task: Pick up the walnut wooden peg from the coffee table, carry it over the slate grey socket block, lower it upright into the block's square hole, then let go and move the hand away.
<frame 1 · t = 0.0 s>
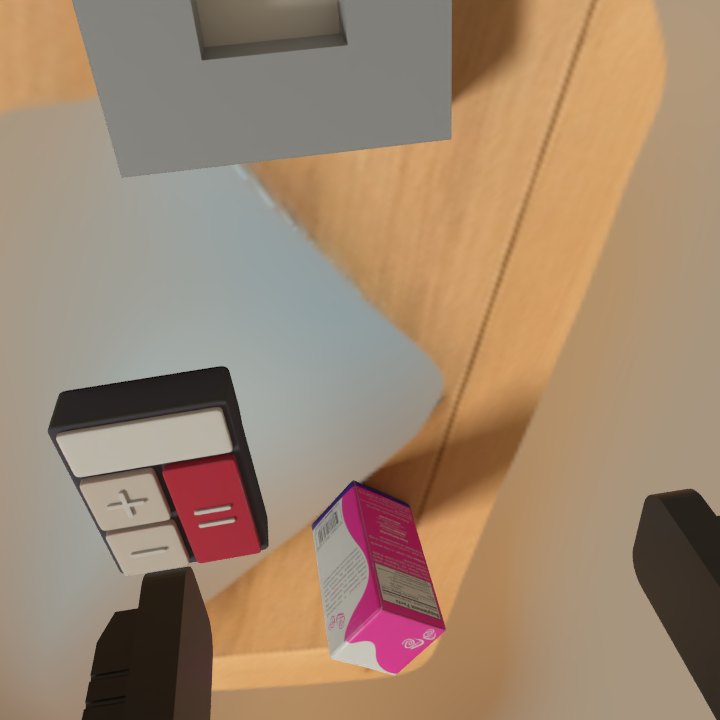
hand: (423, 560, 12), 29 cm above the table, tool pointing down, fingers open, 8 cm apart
supplement box: (361, 512, 54), on the table
calculator: (173, 459, 49), on the table
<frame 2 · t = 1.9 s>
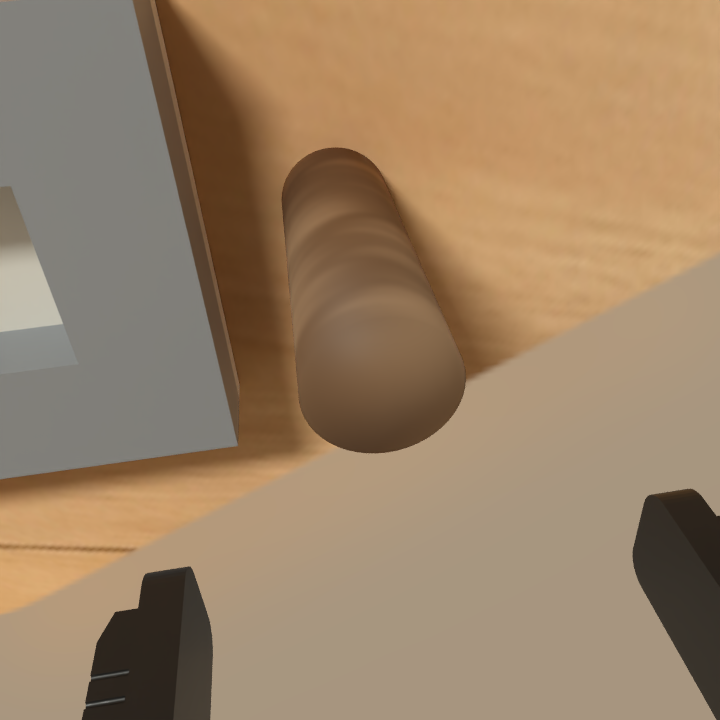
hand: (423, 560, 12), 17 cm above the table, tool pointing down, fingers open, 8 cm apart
walnut peg: (334, 200, 26), on the table
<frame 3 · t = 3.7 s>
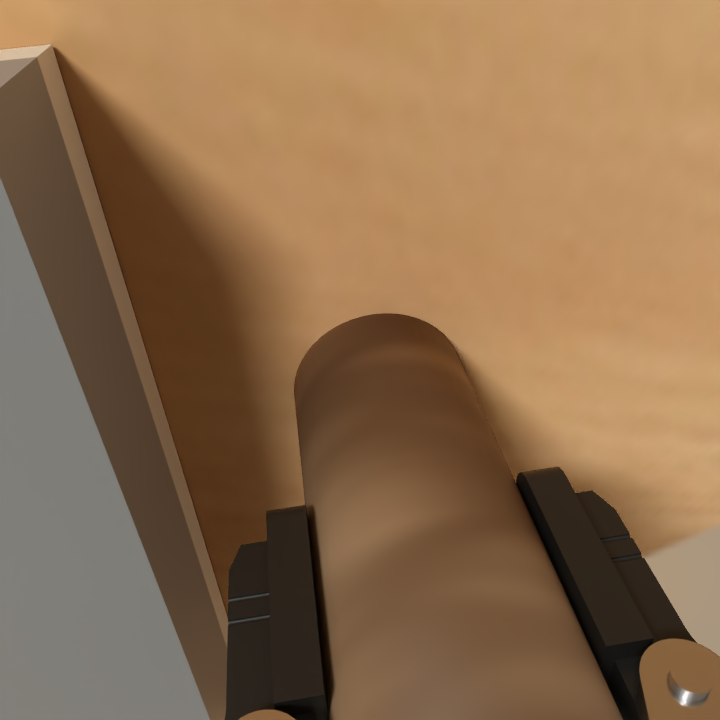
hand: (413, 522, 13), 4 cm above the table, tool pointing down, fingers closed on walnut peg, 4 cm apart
walnut peg: (378, 386, 16), on the table, touching gripper
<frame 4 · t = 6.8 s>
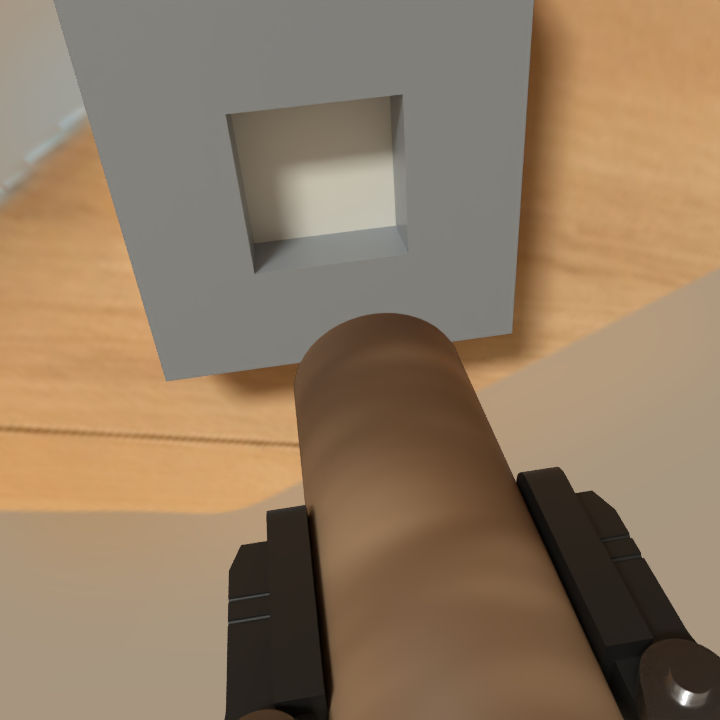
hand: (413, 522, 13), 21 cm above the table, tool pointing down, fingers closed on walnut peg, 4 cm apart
walnut peg: (378, 385, 16), point 17 cm above the table, touching gripper
socket block: (315, 156, 30), on the table
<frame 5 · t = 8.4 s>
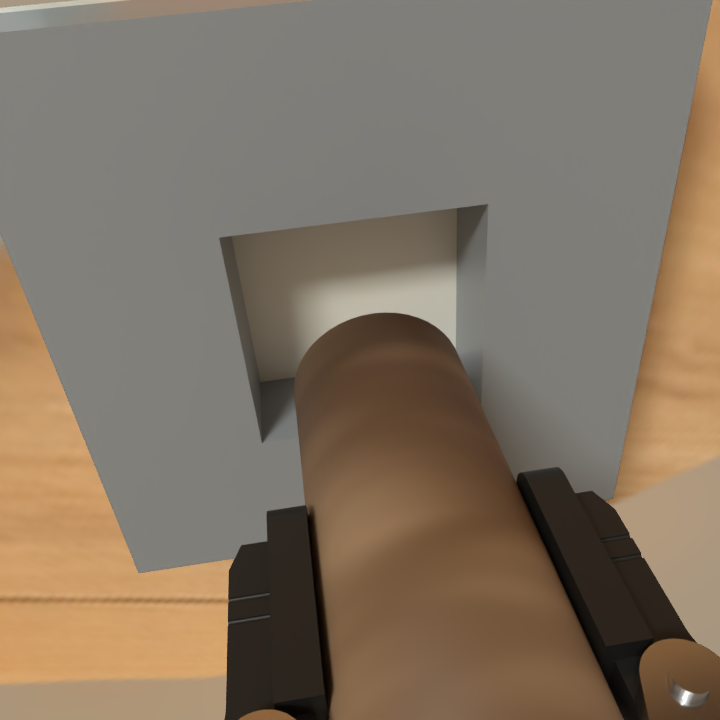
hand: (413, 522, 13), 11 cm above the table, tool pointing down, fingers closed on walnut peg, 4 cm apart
walnut peg: (378, 385, 16), point 6 cm above the table, touching gripper
socket block: (347, 266, 22), on the table
when the fingers open (7 cm above the table, at t = 9.9 s): walnut peg drops 1 cm, resting on socket block.
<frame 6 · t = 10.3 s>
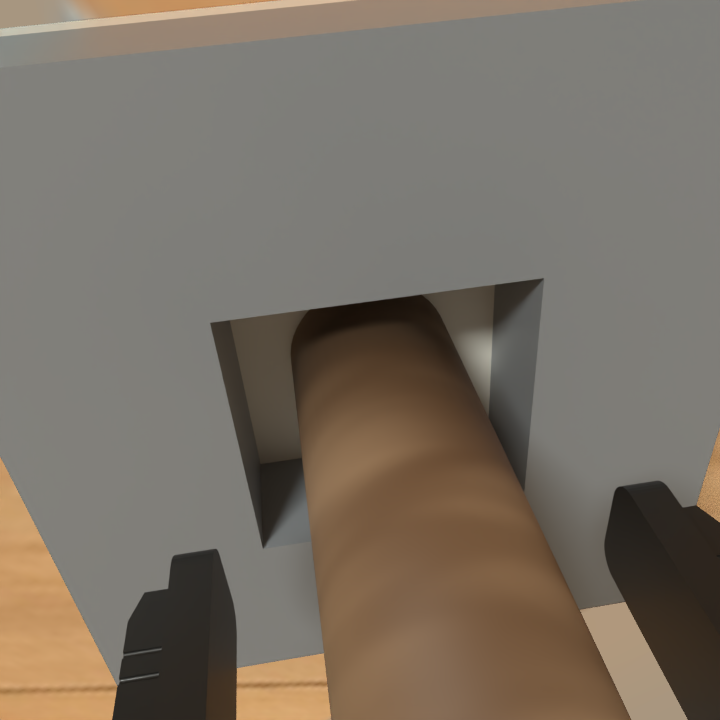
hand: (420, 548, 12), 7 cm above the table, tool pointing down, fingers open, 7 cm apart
walnut peg: (369, 351, 17), point 1 cm above the table, touching socket block
socket block: (362, 331, 18), on the table
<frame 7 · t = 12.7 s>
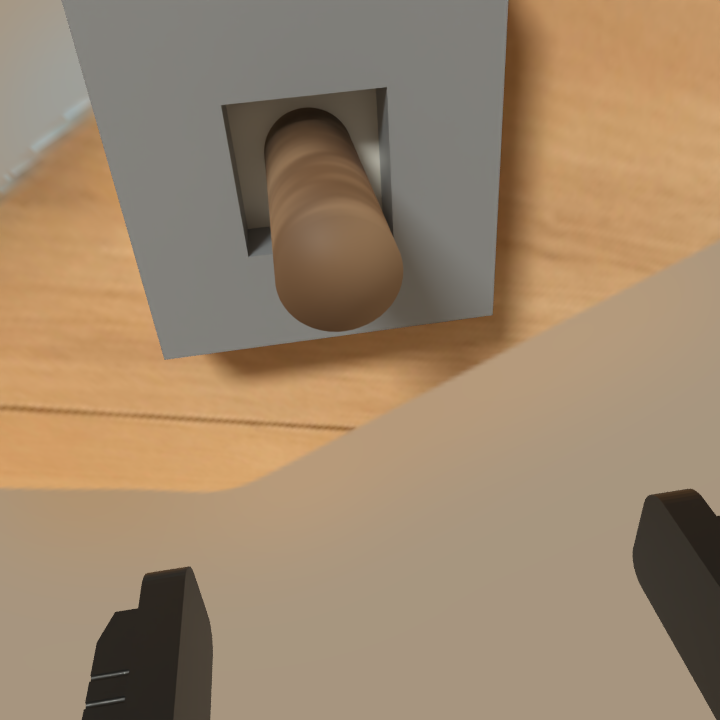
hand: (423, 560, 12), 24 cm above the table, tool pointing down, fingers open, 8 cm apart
walnut peg: (308, 153, 31), point 1 cm above the table, touching socket block
socket block: (306, 146, 32), on the table
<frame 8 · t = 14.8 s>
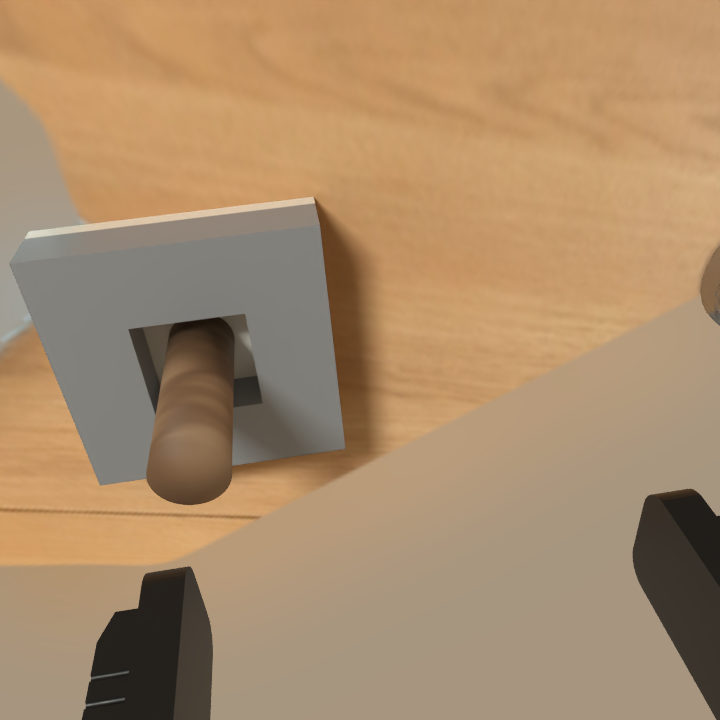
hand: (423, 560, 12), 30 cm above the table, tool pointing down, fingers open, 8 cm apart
walnut peg: (202, 340, 43), point 1 cm above the table, touching socket block
socket block: (202, 332, 44), on the table
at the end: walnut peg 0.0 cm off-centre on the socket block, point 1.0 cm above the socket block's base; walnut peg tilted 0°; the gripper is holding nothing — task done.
